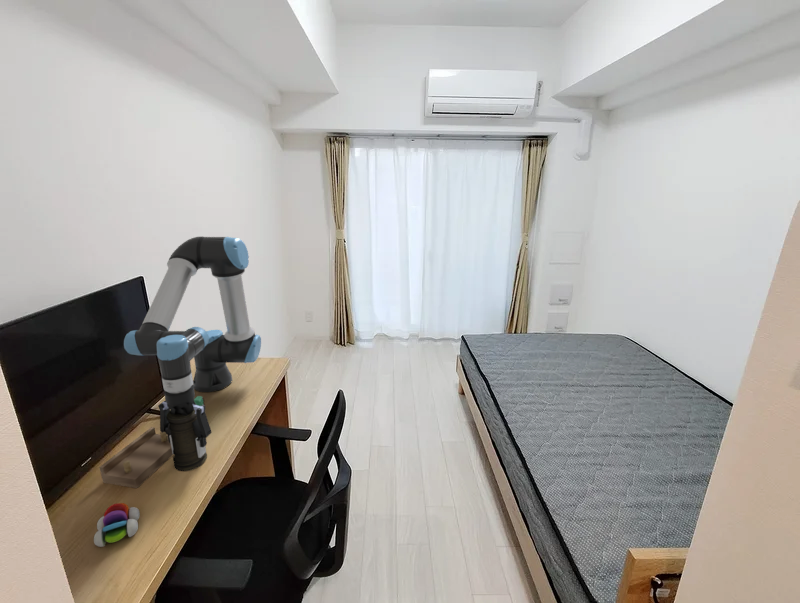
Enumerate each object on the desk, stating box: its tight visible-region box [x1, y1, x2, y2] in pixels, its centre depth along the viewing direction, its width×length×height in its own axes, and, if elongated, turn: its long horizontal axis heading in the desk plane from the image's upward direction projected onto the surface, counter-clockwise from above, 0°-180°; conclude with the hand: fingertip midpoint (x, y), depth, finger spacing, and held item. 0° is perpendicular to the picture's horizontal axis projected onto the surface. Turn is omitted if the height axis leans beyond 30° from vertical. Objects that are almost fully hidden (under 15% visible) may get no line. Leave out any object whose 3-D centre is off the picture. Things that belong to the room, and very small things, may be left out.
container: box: [167, 410, 208, 472], centre depth 116 cm, size 9×9×18 cm
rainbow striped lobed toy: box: [93, 502, 140, 548], centre depth 93 cm, size 8×10×7 cm
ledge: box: [99, 426, 174, 489], centre depth 117 cm, size 19×11×6 cm, turn 171°
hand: (189, 452), depth 117 cm, fingers closed on container, 8 cm apart
